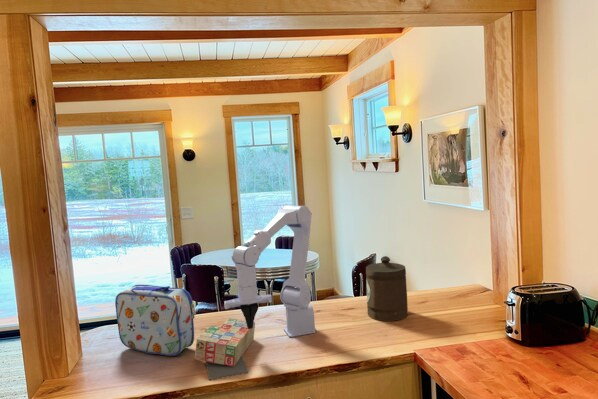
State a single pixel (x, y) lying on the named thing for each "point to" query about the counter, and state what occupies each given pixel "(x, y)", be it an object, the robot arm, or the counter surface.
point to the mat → (226, 369)
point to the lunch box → (155, 319)
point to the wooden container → (386, 290)
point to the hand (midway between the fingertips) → (249, 327)
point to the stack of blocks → (224, 342)
